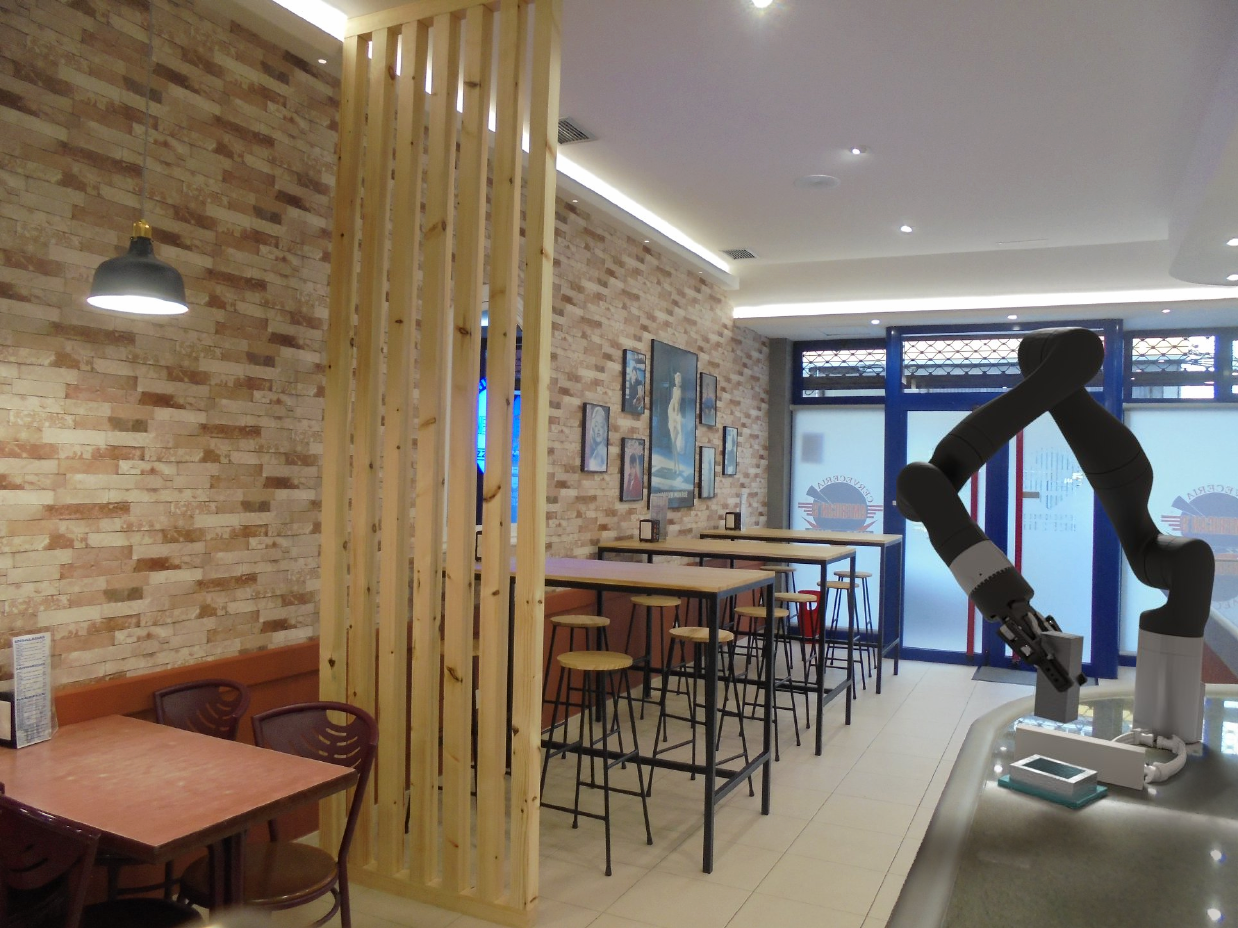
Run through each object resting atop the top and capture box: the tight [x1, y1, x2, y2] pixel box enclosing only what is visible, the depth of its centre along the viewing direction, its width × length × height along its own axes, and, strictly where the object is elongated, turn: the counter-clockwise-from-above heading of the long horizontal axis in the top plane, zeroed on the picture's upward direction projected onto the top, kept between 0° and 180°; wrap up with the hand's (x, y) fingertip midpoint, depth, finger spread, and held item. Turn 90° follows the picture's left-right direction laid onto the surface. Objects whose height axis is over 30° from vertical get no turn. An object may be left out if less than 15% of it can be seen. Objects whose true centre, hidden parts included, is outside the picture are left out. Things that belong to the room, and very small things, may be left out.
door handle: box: [1111, 728, 1187, 784], centre depth 134 cm, size 3×10×25 cm
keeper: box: [997, 754, 1109, 811], centre depth 118 cm, size 10×10×3 cm
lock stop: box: [1033, 631, 1085, 725], centre depth 118 cm, size 4×4×11 cm
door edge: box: [1013, 722, 1147, 791], centre depth 125 cm, size 16×3×5 cm, turn 57°
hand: (1074, 686), depth 116 cm, fingers closed on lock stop, 4 cm apart
